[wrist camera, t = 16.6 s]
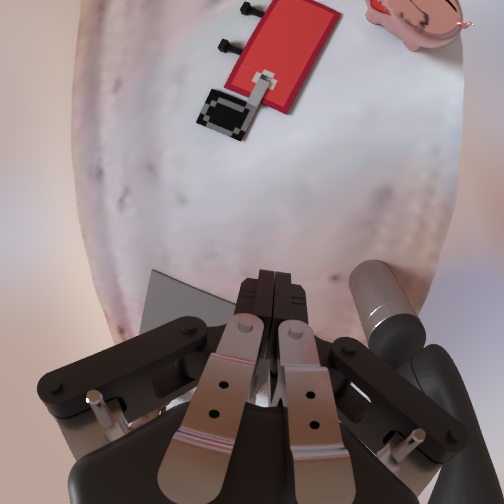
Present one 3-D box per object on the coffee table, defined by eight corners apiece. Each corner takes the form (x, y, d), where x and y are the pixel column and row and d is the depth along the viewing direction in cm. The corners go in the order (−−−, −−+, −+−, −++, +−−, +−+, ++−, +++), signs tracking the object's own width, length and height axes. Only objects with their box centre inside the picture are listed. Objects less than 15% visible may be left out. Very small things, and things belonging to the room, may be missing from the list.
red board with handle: (188, 119, 44) (266, 152, 46) (182, 118, 41) (265, 154, 43) (261, -16, 32) (339, 16, 33) (260, -22, 29) (342, 10, 31)
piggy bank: (369, -32, 26) (393, -71, 12) (446, 23, 28) (490, 3, 14) (335, 12, 33) (355, -28, 18) (420, 71, 35) (468, 57, 20)
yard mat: (302, 328, 60) (302, 330, 60) (254, 394, 72) (254, 395, 72) (152, 269, 58) (151, 270, 57) (137, 348, 70) (136, 350, 69)
